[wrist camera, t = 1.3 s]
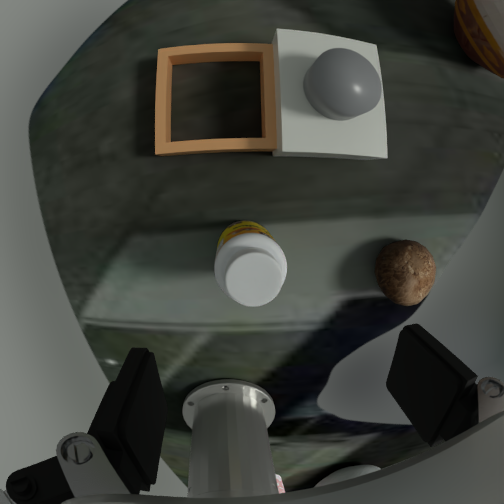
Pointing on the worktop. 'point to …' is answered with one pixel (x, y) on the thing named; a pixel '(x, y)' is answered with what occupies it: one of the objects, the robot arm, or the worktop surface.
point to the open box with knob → (292, 97)
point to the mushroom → (405, 272)
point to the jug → (481, 32)
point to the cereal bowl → (347, 474)
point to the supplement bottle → (249, 264)
